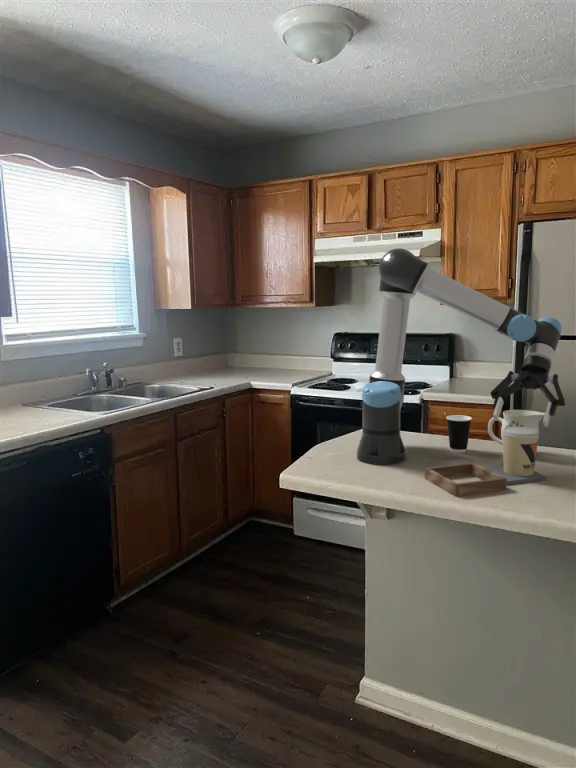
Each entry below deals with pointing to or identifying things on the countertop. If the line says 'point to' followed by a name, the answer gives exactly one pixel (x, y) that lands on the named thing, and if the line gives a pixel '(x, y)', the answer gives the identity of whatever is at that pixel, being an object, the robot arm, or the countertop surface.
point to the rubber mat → (512, 478)
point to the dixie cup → (458, 432)
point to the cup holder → (487, 483)
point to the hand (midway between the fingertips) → (519, 420)
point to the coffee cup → (519, 450)
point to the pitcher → (516, 421)
